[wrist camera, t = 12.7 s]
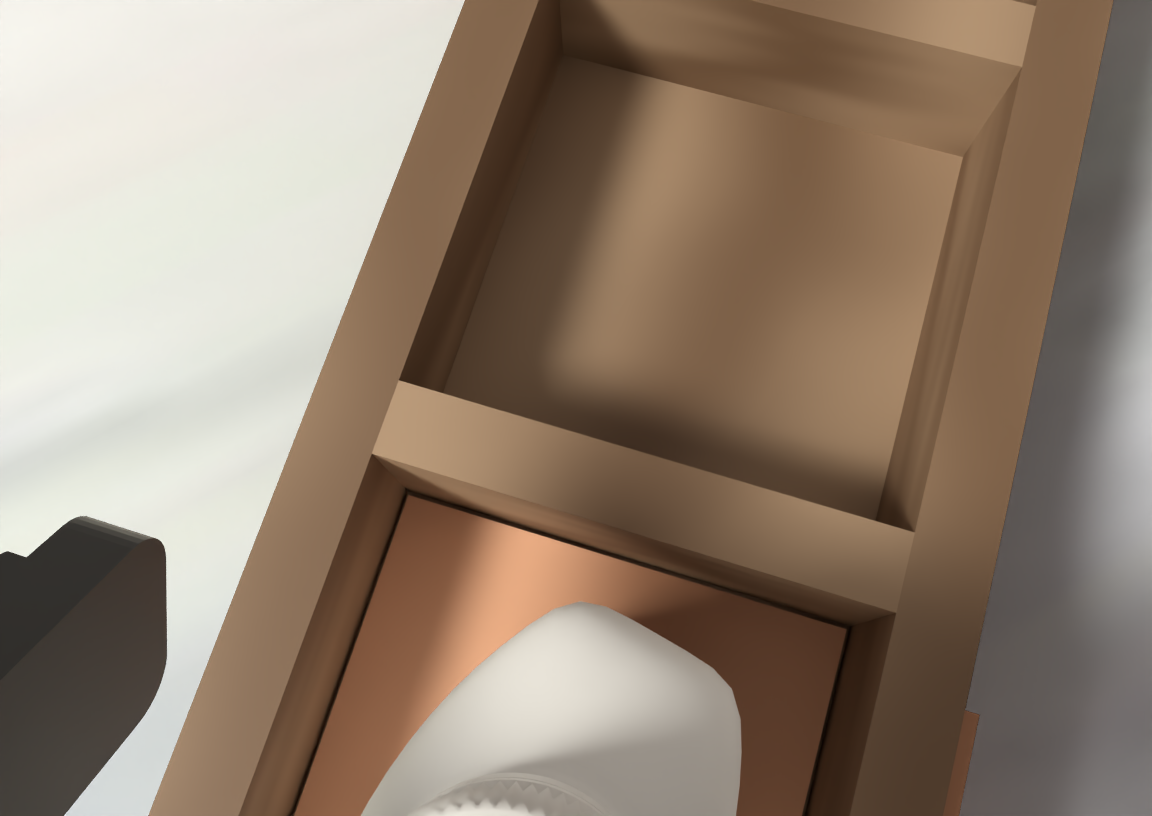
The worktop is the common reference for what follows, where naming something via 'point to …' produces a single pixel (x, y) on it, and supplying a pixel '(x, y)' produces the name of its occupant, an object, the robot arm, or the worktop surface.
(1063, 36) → the walnut rack
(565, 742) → the eye dropper bottle
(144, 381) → the worktop surface
